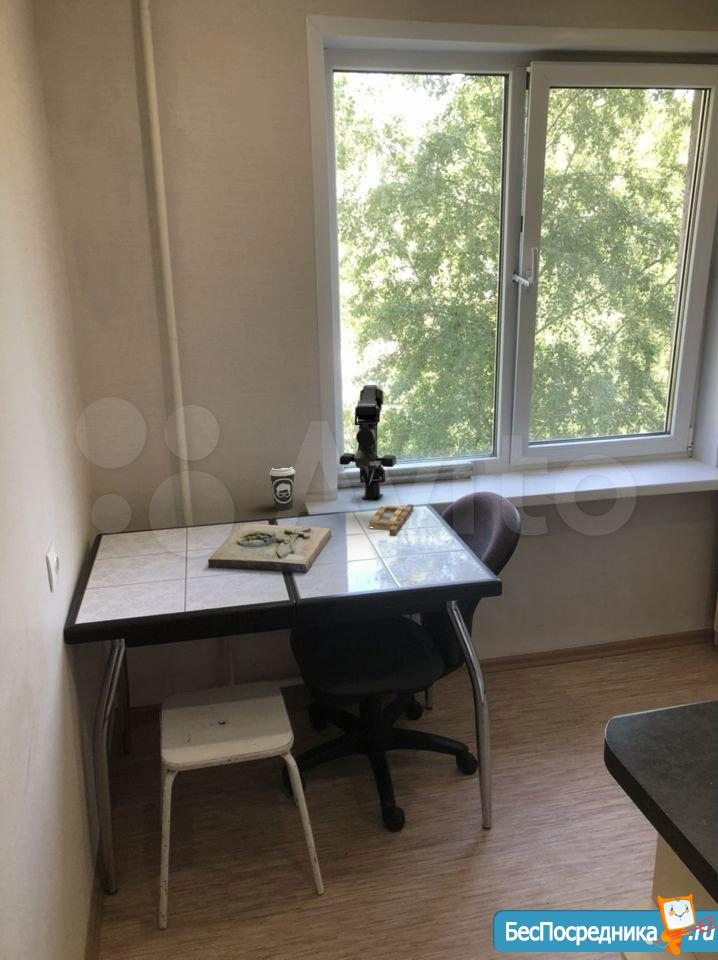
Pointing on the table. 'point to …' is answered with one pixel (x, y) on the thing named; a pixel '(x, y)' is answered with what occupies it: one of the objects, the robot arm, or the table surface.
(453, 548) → the table surface
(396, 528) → the rail
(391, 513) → the frame
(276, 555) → the plaque
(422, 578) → the table surface
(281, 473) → the coffee cup
